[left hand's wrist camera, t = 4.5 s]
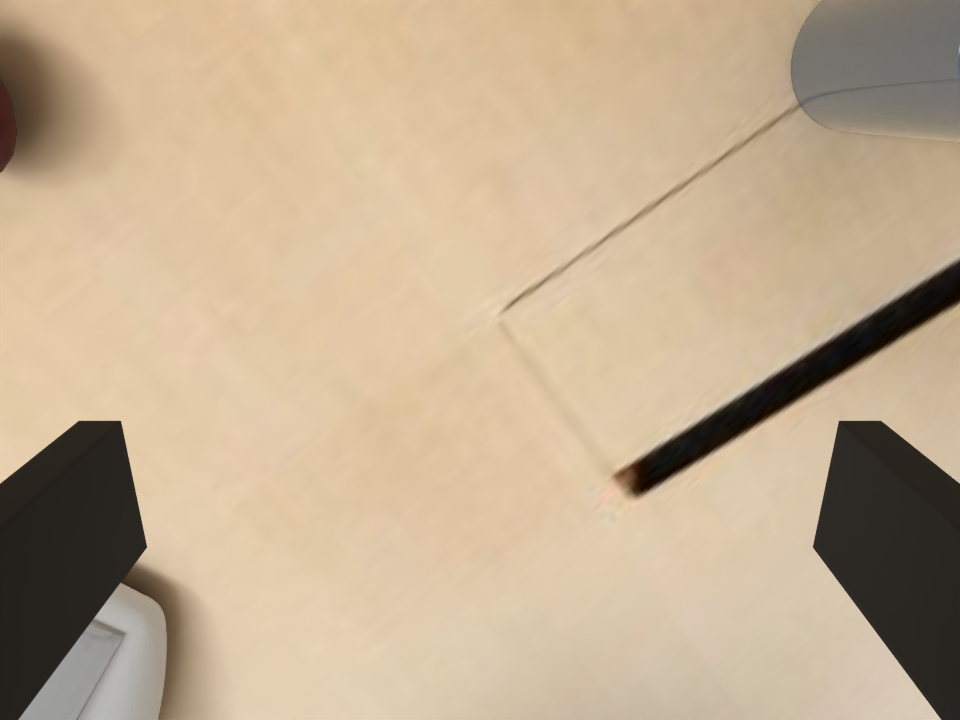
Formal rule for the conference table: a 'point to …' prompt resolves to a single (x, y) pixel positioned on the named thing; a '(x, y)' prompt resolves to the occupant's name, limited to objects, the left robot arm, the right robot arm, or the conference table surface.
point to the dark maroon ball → (6, 127)
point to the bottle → (881, 67)
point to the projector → (110, 666)
